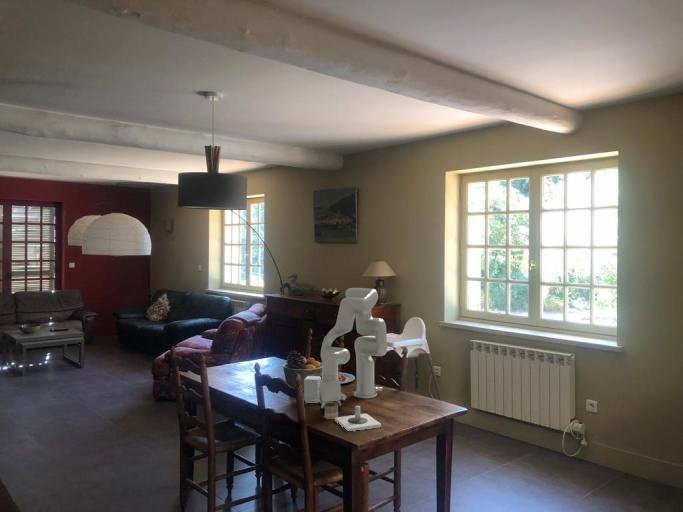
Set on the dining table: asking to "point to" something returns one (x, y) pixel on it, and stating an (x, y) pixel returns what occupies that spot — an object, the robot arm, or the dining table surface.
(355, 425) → the steel post stand
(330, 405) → the beech collar
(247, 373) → the dining table surface
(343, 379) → the ceramic plate
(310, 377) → the supplement box
